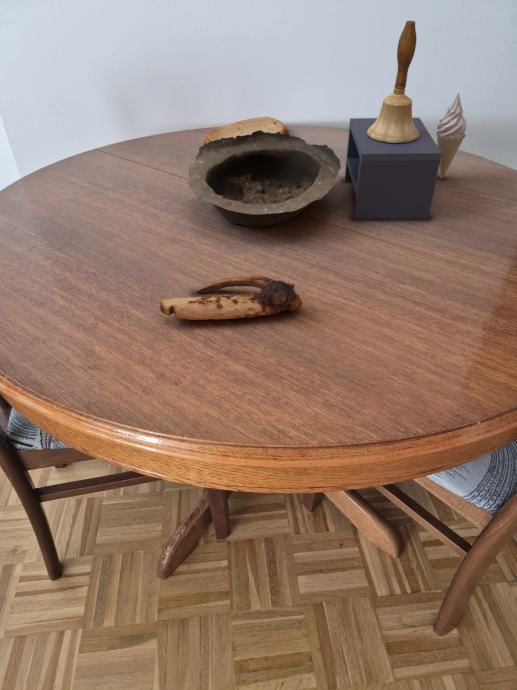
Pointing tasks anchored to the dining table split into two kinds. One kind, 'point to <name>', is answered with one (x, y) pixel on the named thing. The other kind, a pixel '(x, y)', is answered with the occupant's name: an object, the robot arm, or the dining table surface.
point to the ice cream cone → (450, 134)
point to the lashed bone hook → (235, 300)
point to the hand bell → (398, 98)
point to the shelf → (391, 173)
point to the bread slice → (246, 128)
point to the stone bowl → (262, 176)
